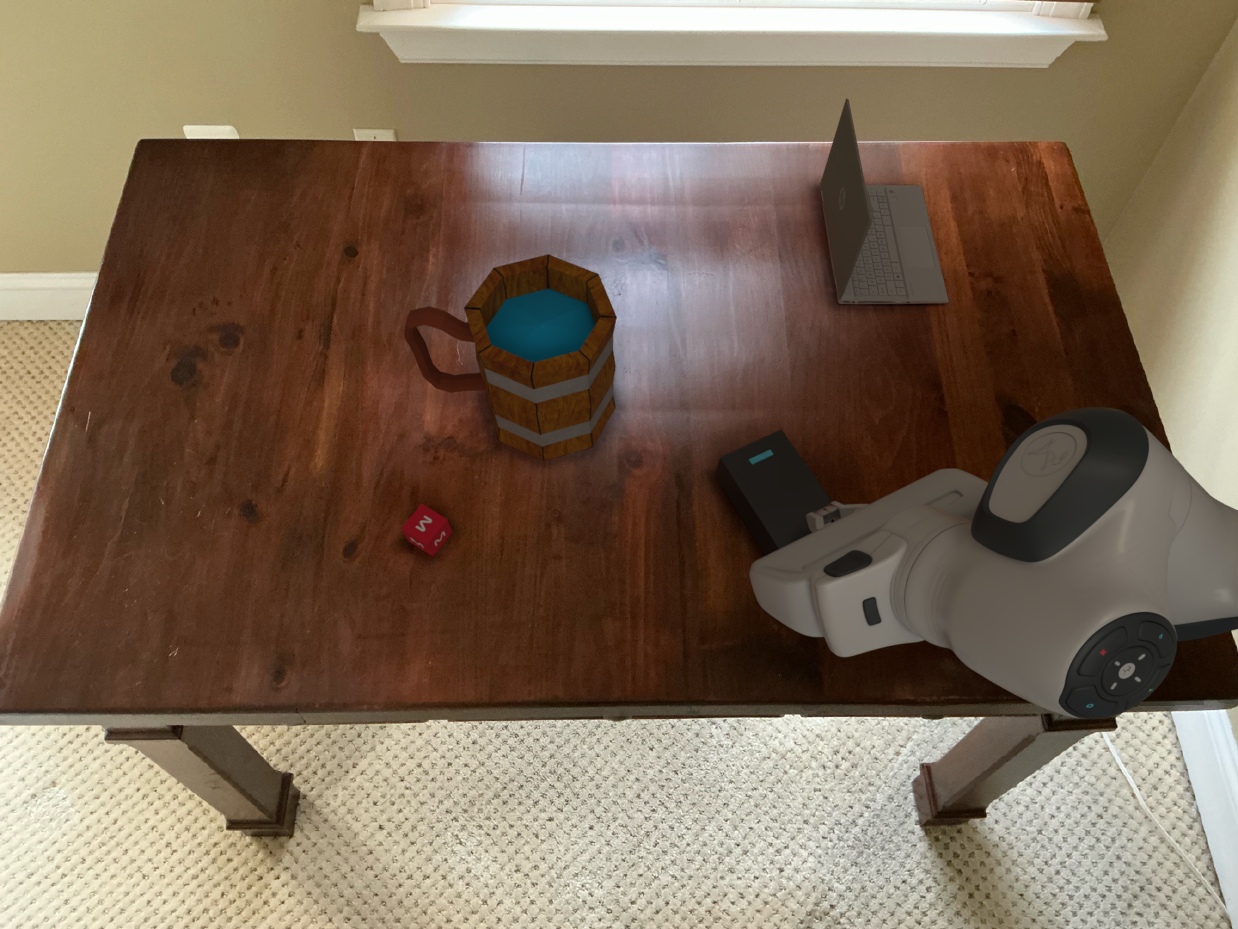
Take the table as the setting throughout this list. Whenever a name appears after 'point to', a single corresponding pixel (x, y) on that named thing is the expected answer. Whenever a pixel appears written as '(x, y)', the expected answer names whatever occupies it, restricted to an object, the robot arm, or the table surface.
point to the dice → (427, 530)
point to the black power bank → (771, 490)
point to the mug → (533, 353)
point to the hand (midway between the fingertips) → (821, 515)
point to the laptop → (876, 232)
